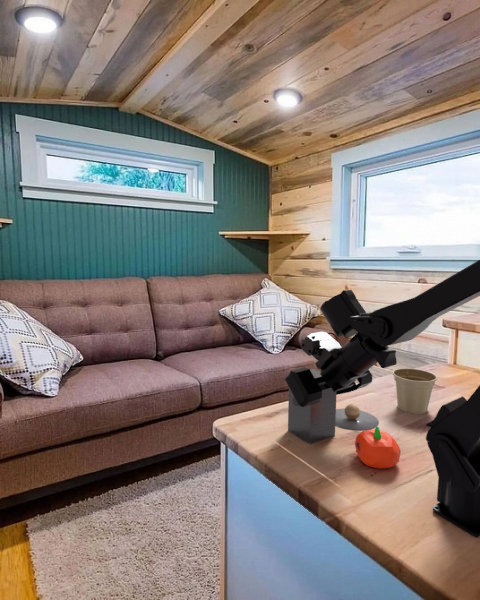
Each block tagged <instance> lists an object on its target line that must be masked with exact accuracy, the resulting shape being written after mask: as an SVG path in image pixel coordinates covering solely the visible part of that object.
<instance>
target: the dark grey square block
mask: <svg viewBox="0 0 480 600" xmlns="http://www.w3.org/2000/svg"><path fill="white" fill-rule="evenodd" d="M310 371H311V372H312V374H313V376H314V378H318V377H322V376H321V375H320V371H321V370H320V369H316V368H312V369H310ZM323 385H324V384H323ZM336 393H337V391H336V392H334V391H333V389H332V388H331V389H327V390H324V391H322V398H321V399H320V400H319V401H320V402H318V403H315V404H312V405H308V406H305V407H301V406H294V404H293V402H292V400H293V398H294V395H293V393H292V392H291V390H290V388H289V387H288V408H287V409H288V411H287V412H288V415H287V416H288V417H287V431H288V432H289V433H291V434H293V435H294V436H295V437H297V438H299V439H301V440H302V441H303V442H305V443H306V444H308V445H311V444H315V443H317V442H321V441H324V440H327V439H330V438H334V437H335V436H336V426H335V419H336V409H337V395H336Z"/></svg>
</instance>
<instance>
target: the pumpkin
mask: <svg viewBox="0 0 480 600" xmlns="http://www.w3.org/2000/svg"><path fill="white" fill-rule="evenodd" d="M354 445H355V446H354V447H355V453H356V454H357V456H358V458H359V459H360V460H361V462H362V463H363V464H364V465H366V466H368V467H371V468H373V469H381V470H383V469H389V468H392V467H395V466H396V465H397V464H398V462H400V457H401V452H402V451H401V448H400V445H399V444H398V442H397V441H396V439H395V438H393V436H391V434H389V433H387V432H386V431H385V430H380V427H378V426H377V427H376V428H374V429H371V430H365V431H360V433H358V434H357V436H356V438H355V442H354Z"/></svg>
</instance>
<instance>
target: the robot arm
mask: <svg viewBox="0 0 480 600" xmlns="http://www.w3.org/2000/svg"><path fill="white" fill-rule="evenodd" d="M478 297H480V259H479V260H476V261H475V262H473V263H472V264H469V266H467V267H465V268H463V269H461V270H459V271H458V272H456V273H454V274H453V275H451V276H449V277H447V278H445V279H444V280H442V281H440V282H438V283H437V284H435V285H433V286H432V287H430V288H428V289H427V290H425V291H423V292H421V293H420V294H419V295H416V296H415V297H412V298H409V299H406V300H403V301H399V302H397V303H391V304H390V305H387V306H384V307H381V308H378V309H375V310H373V311H372V312H367V311H366V310H365V308H364V307H363V305H362V304H361V303H360V301H359V300H358V299H357V296H356V294H355V293H354V291H353V290H352V289H344V290H342V291H341V292H340V293H339V294H336V295H334V296H332V297H331V298H329V299H328V300H324V302H323V303H322V304H321V306H320V308H319V311H320V312H321V314H322V316H323V317H324V318H325V320H326V322H327V323H328V325H329V326H330V327H331V329H332V331H333V332H334V334H335V336H336V337H344V339H348V338H349V340H348V341H347V342H346V343H345V344H344V345H342V346H341V345H340V343H339V342H338V341H337V340H336V339H334V337H332V336H331V335H330V334H329V333H327V332H326V331H318V332H312V333H309V335H306V336H305V337H304V339H303V338H302V339H301V344H300V348H301V350H302V351H303V352H304V353H305V354H306V355H307V356H308V357H309V356H312V357H313V358H314V359H315V360H317V361H316V362H315V363H314V364H315V366H316V367H317V370H319V371H320V375H321V376H322V377H318V378H314V376H313V374H312V372H311V371H310V370H311V369H310V368H308V367H301V368H295V369H292V370H290V371H289V372H288V373H287V374H286V375H285V377H284V381H285V382H286V384H287V386H288V389H289V388H290V390H291V392H292V393H293V395H294V398H293V400H292V402H293V404H294V406H301V407H305V406H308V405H312V404H315V403H318V402H320V401H319V400H320V399H321V398H322V391H324V390H327V389H331V388H332V389H333V391H334V392H336V391H337V393H336V396H337V395H342V394H348V393H351V392H354V391H357V390H360V389H362V388H365V387H367V386H369V385H370V384H371V383H373V374H372V373H371V371H370V369H371V368H372V367H374V366H375V365H376V364H378V365H379V366H380V368H382V369H386V368H390V367H394V366H396V365H397V364H398V363H397V357H396V356H397V355H396V354H397V350H396V349H391V348H390V347H389V346H393V345H396V344H401V343H405V342H409V341H412V340H413V339H414V338H416V337H418V336H419V335H420V334H421V333H422V332H424V331H425V330H426V329H428V327H430V325H431V324H432V323H433V322H434V321H435V320H436V319H438V318H439V317H441V316H444V315H445V314H446V313H449V312H451V311H453V310H455V309H457V308H459V307H461V306H463V305H465V304H468V303H469V302H470V301H472V300H475V299H476V298H478ZM356 381H358V383H357V384H356ZM323 384H324V385H323ZM425 426H426V427H428V428H429V429H428V430H427V432H426V436H425V440H426V443H427V447H428V449H429V450H430V453H431V454H432V458H433V461H434V467H435V469H436V474H437V477H438V479H437V492H436V500H437V502H438V503H436V504H434V505H433V506H432V511H433V512H434V513H436V514H437V515H439V516H441V517H442V518H443V519H446V520H448V521H449V522H450V523H452V524H454V525H456V526H457V527H458V528H461V529H462V530H463V531H465V532H468V533H469V534H470V535H472V536H473V537H477V538H479V537H480V384H479V385H478V386H477V388H476V389H475V390H474V391H473V393H471V395H470V397H469V398H468V399H466V398H465V396H463V395H462V396H460V397H458V398H455V399H453V400H451V401H449V402H447V403H444V404H442V405H441V407H440V408H439V410H437V414H436V415H435V417H434V418H433V420H432V421H430V422H428V423H426V425H425Z"/></svg>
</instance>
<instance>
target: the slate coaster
mask: <svg viewBox="0 0 480 600" xmlns="http://www.w3.org/2000/svg"><path fill="white" fill-rule="evenodd" d="M379 424H380V421H379V419H378V417H376V416H375V415H374V414H372V413H369V412H368V411H367V412H366V411H363V410H360V415H359V417H358V418H357V419H354V420H351V419H349V418H347V417H346V415H345V408H338V409H337V408H336V419H335V427H337V428H340V429H342V430H348V431H356V432H357V431H359V432H362V431H366V430H371V429H373V430H375V428H376V427H378V426H379Z"/></svg>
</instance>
